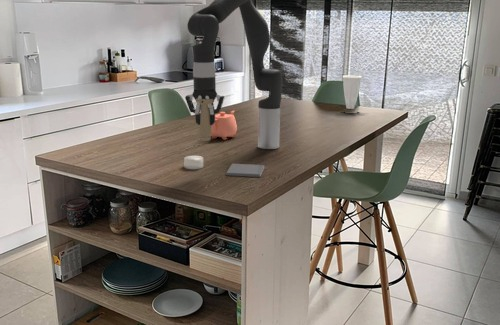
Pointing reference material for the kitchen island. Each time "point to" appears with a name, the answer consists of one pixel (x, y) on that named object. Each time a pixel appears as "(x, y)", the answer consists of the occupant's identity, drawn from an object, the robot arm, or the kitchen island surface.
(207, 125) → the handle
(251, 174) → the coaster
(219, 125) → the teapot
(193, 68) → the robot arm
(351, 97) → the cup
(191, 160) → the white dome knob
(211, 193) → the kitchen island surface
